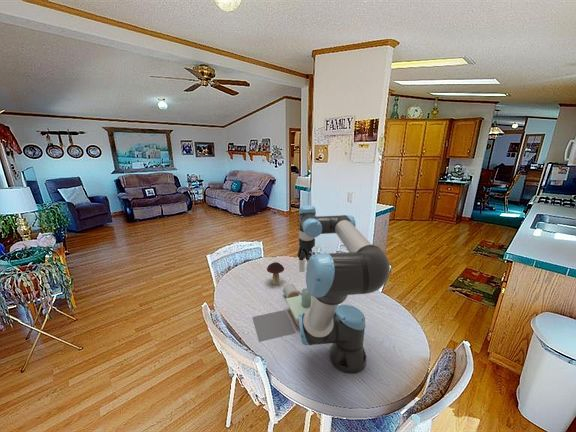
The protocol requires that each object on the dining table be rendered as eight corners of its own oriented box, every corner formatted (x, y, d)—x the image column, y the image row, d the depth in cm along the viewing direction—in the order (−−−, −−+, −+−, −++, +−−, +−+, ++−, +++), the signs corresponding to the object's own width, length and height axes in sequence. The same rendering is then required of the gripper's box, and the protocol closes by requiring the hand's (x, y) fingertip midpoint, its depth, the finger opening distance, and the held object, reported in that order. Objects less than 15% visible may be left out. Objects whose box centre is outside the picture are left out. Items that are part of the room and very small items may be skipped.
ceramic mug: (287, 304, 145) (287, 292, 143) (282, 296, 152) (282, 284, 150) (304, 299, 149) (305, 288, 147) (299, 292, 156) (299, 281, 154)
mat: (296, 333, 123) (296, 332, 123) (259, 342, 118) (259, 341, 118) (285, 310, 140) (285, 309, 139) (252, 317, 134) (252, 316, 134)
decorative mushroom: (287, 282, 166) (287, 261, 162) (278, 290, 158) (277, 268, 153) (273, 277, 172) (273, 257, 168) (263, 285, 163) (262, 264, 159)
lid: (328, 313, 128) (329, 297, 125) (296, 321, 123) (296, 304, 120) (315, 294, 143) (315, 279, 140) (285, 300, 138) (285, 285, 136)
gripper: (325, 247, 111) (324, 290, 118) (304, 228, 134) (304, 265, 140) (309, 249, 109) (309, 293, 115) (291, 230, 132) (291, 267, 138)
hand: (306, 278), depth 128 cm, fingers open, 13 cm apart
